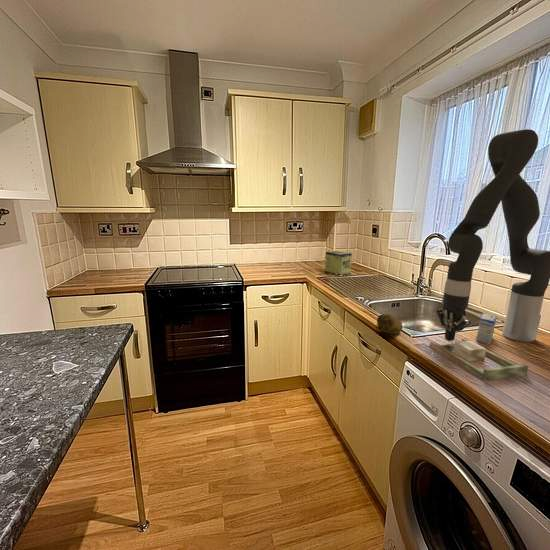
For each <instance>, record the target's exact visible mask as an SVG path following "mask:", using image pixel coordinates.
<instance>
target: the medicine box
mask: <svg viewBox="0 0 550 550" xmlns="http://www.w3.org/2000/svg"><path fill="white" fill-rule="evenodd" d="M496 323H497V315H494V314H489V313H482V315H481V316H480V320H479V323H478V324H479V325H478V329H477V333H476V341H478V342H481V343H485V344H489V345H490V344H492V340H493V337H494V336H493V335H494V333H495V332H494V331H495V327H496Z"/></svg>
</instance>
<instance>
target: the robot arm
mask: <svg viewBox="0 0 550 550" xmlns="http://www.w3.org/2000/svg"><path fill="white" fill-rule="evenodd" d="M538 145H539V136H538V134H537V132H536V131H535V130H533V129H530V128H529V129H527V128H526V129H519V130H514V131H513V130H512V131H508V132H502V133H499V134H496V135H494V136H493V137H492V138H491V140H490V141H489V143H488V147H487V155H488V160H489V163H490V167H491V169H492V173H493V174H494V177H493V179H492V180H490V182H489V183H488V184H486V185H485V186H484V187H483V188H482V189H481V190H480V191H478V193H477V195H476V196H475V197H474V198H473V200H472V201H471V204H470V205H469V207H468V210H467V212H466V213H465V216H464V218H463V219H462V220H461V222H460V223H458V225H457V226H456V227H455V229H454V230H453V231H452V232H451V234H450V236H449V238H448V241H447V242H448V243H447V246H448V249H449V251H451V252H453V253H454V254H458V256H457V258H456V260H455V261H452V262H450V263H449V265H448V269H447V276H446V280H445V284H444V290H443V296H442V308H440V309H436V313H437V316H438V318H439V322H440V325H441V326H442V327H444V329H445V332H444V340H446V341H448V342H451V341H452V342H453V341H454V340H455V337H456V336H455V335H456V333H457V332H462V331H463V330H464V329H466V328H467V327H468V326H469V325H471V323H472V322H471V320H468V319H467V317H466V315H467V313H466V309H467V308H468V307H469V302H470V301H469V300H470V296H471V290H472V279H473V272H474V268H475V266H476V265H477V263H478V261H479V259H480V256H481V254H482V252H483V248H484V247H483V246H484V244H483V243H484V242H483V240H482V238H481V237H480V235H478V234H476V233H477V232H478V231H479V230H482V229H485V228H487V227H488V226H489V224H490V222H491V220H492V219H493V217H494V215H495V213H496V212H497V209H498V207H499V205H500V203H501V207H502V212H503V217H504V222H505V224H506V232H507V236H508V244H509V245H508V247H509V258H510V259H509V260H510V265H511V268H512V270H513V271H514V272H516V273H519V274H523V275H529V276H530V277H529V279H528V280H527V281H521V282H515V283H513V284H512V285H511V290H510V296H509V300H508V305H507V311H506V314H505V315H506V316H505V321H504V326H503V329H502V335H503V336H504V337H505V338H507V339H508V338H509V339H511V340H513V341H518V342H521V343H522V342H523V343H524V342H525V343H532V342H534V341H535V340H536V339H537V335H538V331H539V327H540V323H541V318H542V316H541V311H542V306H543V302H544V297H545V294H546V291H547V289H548V287H549V283H550V250H545V249H538V248H537V249H536V248H530V247H529V243H528V237H529V235H530V233H531V231H532V229H533V228H534V227H535V226H536V224H537V222H538V221H539V219H540V215H541V210H540V204H539V200H538V195H537V193H536V192H535V191H534V189H533V188H532V186H530V184H528V183H527V181H526V180H524V178H523V177H522V176H521V173H522V172H523V170H524V169H525V168H526V166H527V164H528V163H529V162H530V160H531V159H532V158H533V157H534V154H535V152H536V151H537V148H538Z"/></svg>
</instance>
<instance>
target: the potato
mask: <svg viewBox="0 0 550 550" xmlns="http://www.w3.org/2000/svg"><path fill="white" fill-rule="evenodd" d="M376 325H377V329H378V330H381V331H382V332H383V333H387V334H391V335H397V334H399V333H400V332H401V331H402V330H403V322H402V321H401V320H400V319H399V318H397V317H395V316H393V315H392V314H390V313H383V314H380V315H378V316H377V318H376Z"/></svg>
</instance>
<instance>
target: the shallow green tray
mask: <svg viewBox="0 0 550 550" xmlns="http://www.w3.org/2000/svg"><path fill="white" fill-rule="evenodd" d="M461 341H470V340H469V339H468V338H466V337H465V338H461ZM429 346H430V347H432V348H433V349H434V350H436V351H438V352H439V353H441V354H442V355H444V356H446V357H447V358H448V359H451V360H452V361H454V362H456V363H457V364H458V365H460V366H462V367H463V368H464V369H466V370H468V371H469V370H470V372H471V373H473V374H474V373H475V374H474V375H476V376H477V375H478V376H477V377H479V378H481V379H482V380H484V381H485V380H486V381H493V380H501V379H508V378H509V379H510V378H515V377H523V376H527V375H528V372H529V365H528V364H525V363H523V364H515V363H513V362H512V361H510V360H508V359H506V358H504V357H502V356H501V355H498V354H497V353H494V352H492V351H490V350H489V349H487V348H485V349H486V353H485V357H487V358H489V359H492V360H493V361H496V363H497V362H498V363H499V364H501V365H502V366H497V367H490V368H484V369H483V370H482V369H481V368H478V367H477V366H476V365H474V364H472V363H471V362H470V361H466V360H465V359H463V358H462V357H460V356H458V355H457V354H455V353H454V346H455V343H447V344H438V343H437V342H435V341H433V340H431V341H429Z"/></svg>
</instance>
